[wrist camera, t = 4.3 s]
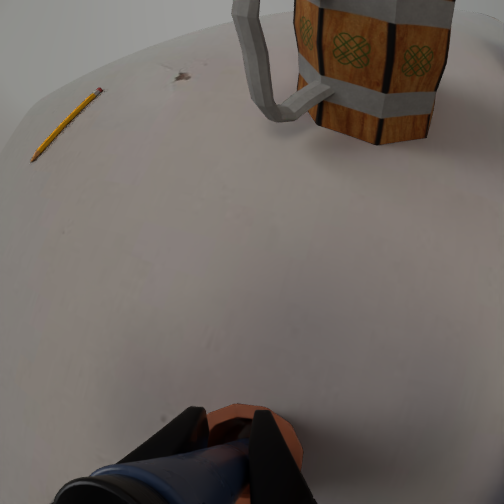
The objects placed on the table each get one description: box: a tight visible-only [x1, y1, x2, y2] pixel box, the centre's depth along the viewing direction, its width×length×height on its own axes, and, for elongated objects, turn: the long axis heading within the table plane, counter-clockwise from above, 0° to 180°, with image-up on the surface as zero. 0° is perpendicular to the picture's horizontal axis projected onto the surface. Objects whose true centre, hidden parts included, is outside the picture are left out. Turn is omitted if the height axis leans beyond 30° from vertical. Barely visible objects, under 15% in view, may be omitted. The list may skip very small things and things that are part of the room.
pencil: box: [29, 88, 102, 164], centre depth 31 cm, size 1×13×1 cm, turn 158°
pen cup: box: [207, 403, 304, 504], centre depth 11 cm, size 4×4×5 cm
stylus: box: [53, 437, 250, 504], centre depth 7 cm, size 1×1×13 cm
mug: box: [231, 0, 455, 145], centre depth 19 cm, size 20×14×15 cm
